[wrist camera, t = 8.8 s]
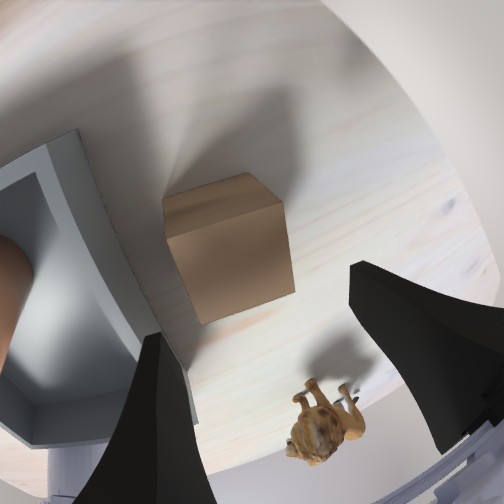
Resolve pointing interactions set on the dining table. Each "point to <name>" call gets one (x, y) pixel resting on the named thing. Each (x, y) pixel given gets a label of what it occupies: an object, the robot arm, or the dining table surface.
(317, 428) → the lion figurine
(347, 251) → the dining table surface
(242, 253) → the walnut block
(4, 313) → the terracotta cylinder
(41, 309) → the tote
